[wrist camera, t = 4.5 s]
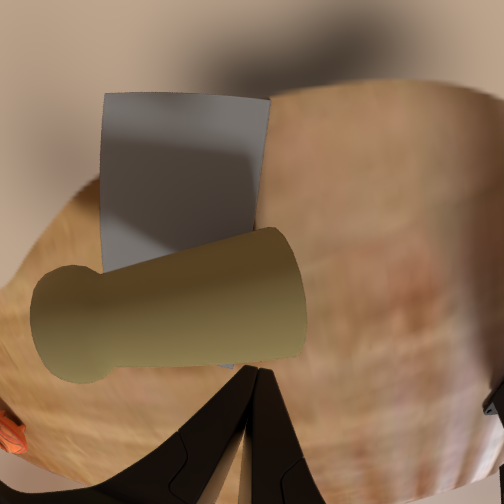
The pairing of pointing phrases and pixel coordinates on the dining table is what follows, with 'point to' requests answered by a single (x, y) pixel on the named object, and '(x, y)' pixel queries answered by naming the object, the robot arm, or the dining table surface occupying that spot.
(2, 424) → the pot
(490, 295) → the dining table surface
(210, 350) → the cork
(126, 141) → the mat
